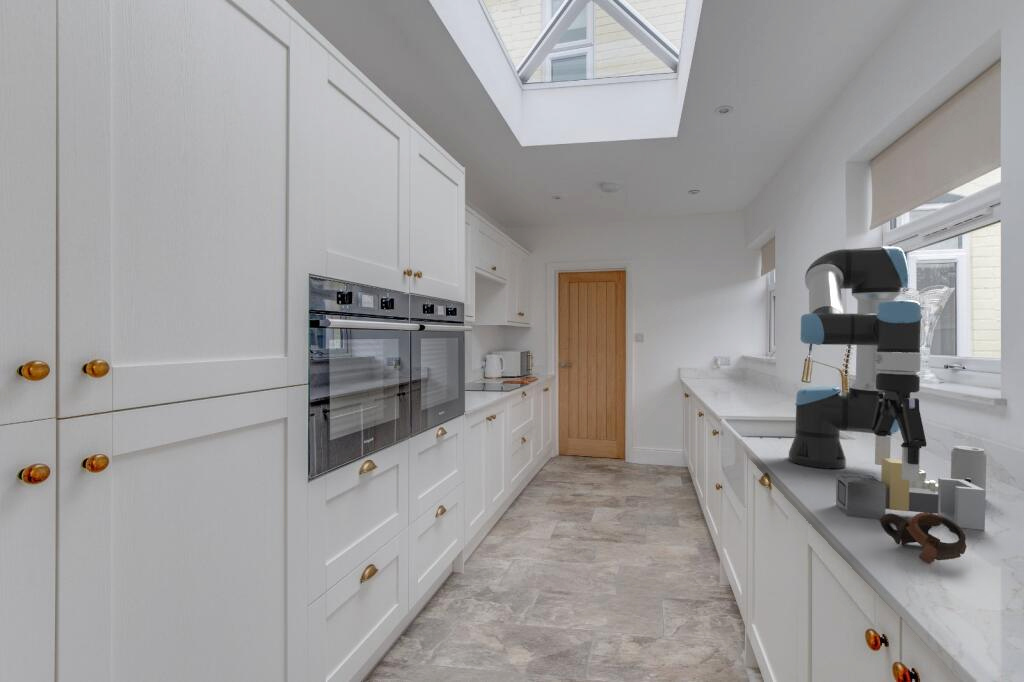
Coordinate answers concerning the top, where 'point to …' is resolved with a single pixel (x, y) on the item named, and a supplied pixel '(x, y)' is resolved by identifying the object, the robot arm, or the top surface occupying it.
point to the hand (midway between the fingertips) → (895, 472)
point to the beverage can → (969, 465)
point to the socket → (961, 503)
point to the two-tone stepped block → (901, 491)
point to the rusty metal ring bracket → (925, 535)
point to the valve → (927, 482)
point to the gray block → (862, 496)
